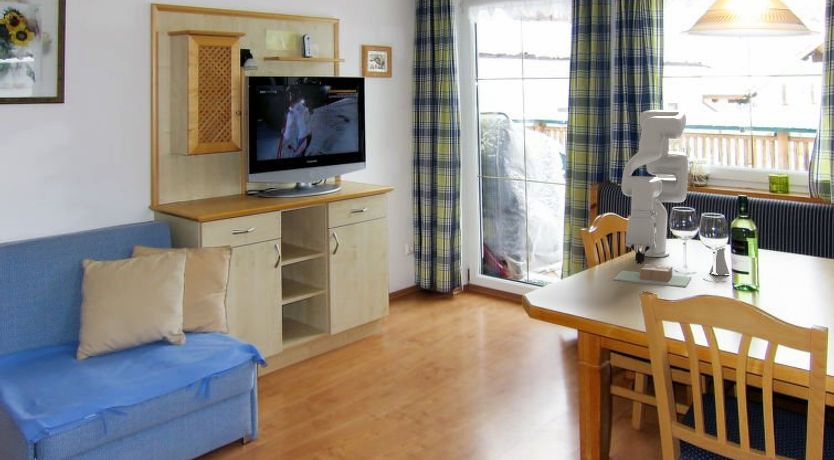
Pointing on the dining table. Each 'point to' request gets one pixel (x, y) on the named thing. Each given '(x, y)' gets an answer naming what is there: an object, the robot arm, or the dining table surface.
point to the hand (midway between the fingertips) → (639, 263)
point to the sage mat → (635, 277)
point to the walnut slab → (656, 273)
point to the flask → (720, 263)
